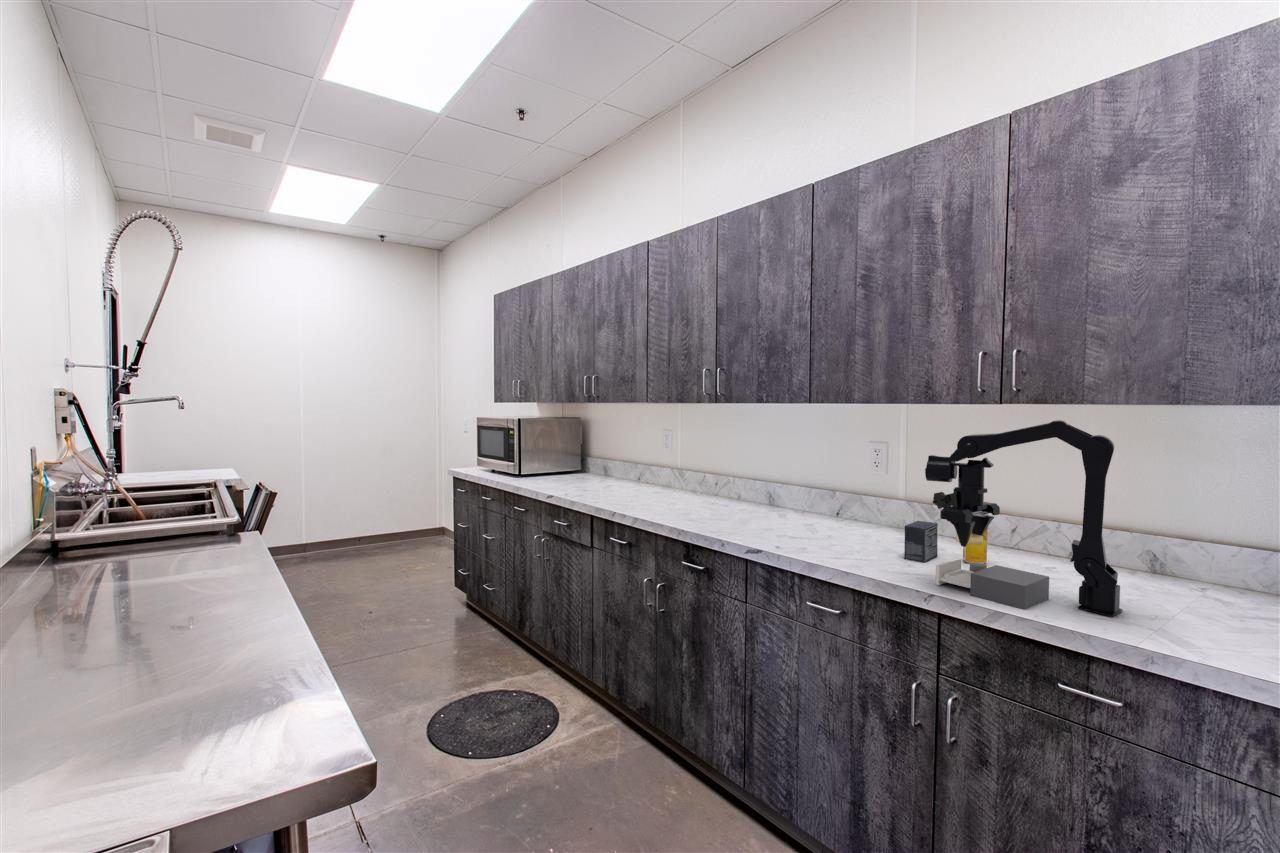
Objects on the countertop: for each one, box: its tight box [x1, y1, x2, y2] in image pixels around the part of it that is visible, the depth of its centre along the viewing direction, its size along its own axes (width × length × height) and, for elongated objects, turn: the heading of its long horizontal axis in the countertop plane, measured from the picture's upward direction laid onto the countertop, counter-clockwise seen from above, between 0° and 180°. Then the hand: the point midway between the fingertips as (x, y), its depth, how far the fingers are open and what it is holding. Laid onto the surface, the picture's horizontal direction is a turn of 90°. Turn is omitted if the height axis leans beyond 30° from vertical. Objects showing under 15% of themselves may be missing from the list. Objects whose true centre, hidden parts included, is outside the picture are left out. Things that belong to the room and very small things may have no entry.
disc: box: [955, 533, 983, 545], centre depth 149 cm, size 6×6×2 cm
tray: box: [935, 558, 974, 589], centre depth 150 cm, size 12×11×5 cm
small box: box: [903, 520, 939, 564], centre depth 178 cm, size 11×6×10 cm, turn 134°
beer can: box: [962, 526, 989, 565], centre depth 172 cm, size 6×6×15 cm
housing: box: [969, 564, 1050, 610], centre depth 142 cm, size 12×13×5 cm
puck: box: [969, 563, 988, 572], centre depth 157 cm, size 4×4×4 cm
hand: (969, 544), depth 149 cm, fingers closed on disc, 6 cm apart
